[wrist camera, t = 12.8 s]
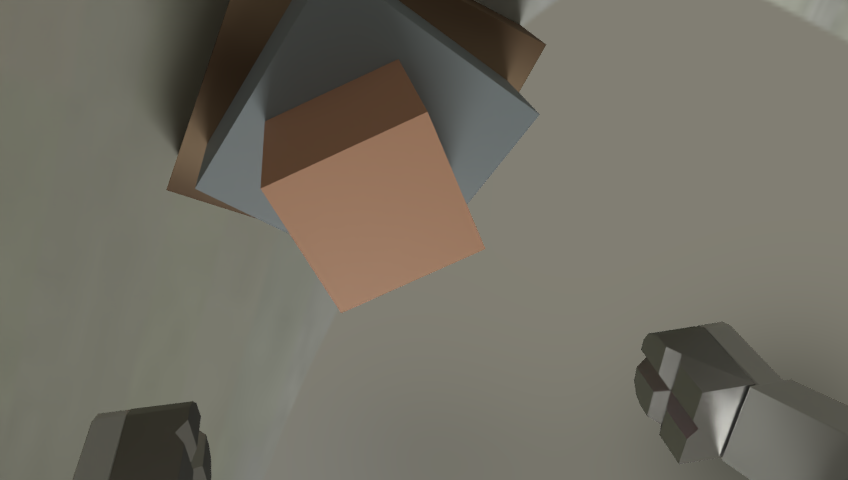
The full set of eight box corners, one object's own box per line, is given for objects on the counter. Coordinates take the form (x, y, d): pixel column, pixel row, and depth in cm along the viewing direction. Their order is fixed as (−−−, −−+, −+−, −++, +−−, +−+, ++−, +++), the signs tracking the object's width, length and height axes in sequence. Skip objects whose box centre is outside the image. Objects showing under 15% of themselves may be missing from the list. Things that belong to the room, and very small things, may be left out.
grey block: (387, 237, 29) (400, 287, 26) (207, 143, 25) (195, 188, 22) (507, 80, 26) (539, 114, 23) (324, -55, 22) (330, -38, 19)
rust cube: (330, 231, 24) (341, 313, 20) (264, 121, 21) (260, 188, 17) (449, 178, 23) (485, 248, 19) (398, 58, 21) (427, 111, 16)
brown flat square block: (405, 228, 34) (417, 269, 30) (180, 151, 29) (166, 189, 26) (516, 22, 29) (545, 44, 25) (267, -110, 24) (263, -103, 21)
